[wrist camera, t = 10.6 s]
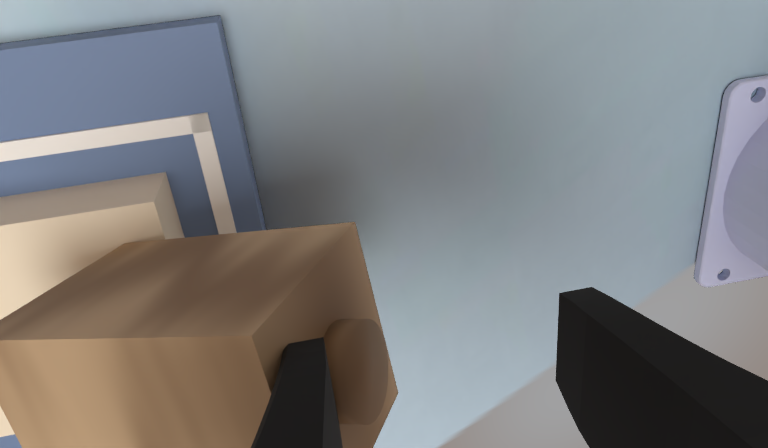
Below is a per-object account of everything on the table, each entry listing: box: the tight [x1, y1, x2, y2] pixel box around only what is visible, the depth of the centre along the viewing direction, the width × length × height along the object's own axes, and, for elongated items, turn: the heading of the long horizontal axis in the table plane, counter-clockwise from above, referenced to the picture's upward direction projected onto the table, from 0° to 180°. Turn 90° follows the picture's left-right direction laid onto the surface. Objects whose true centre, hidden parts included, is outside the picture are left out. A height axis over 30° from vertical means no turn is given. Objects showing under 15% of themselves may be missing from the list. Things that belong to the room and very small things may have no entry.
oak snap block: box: [0, 222, 398, 448], centre depth 13 cm, size 4×4×7 cm
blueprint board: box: [0, 15, 266, 448], centre depth 18 cm, size 11×14×3 cm
